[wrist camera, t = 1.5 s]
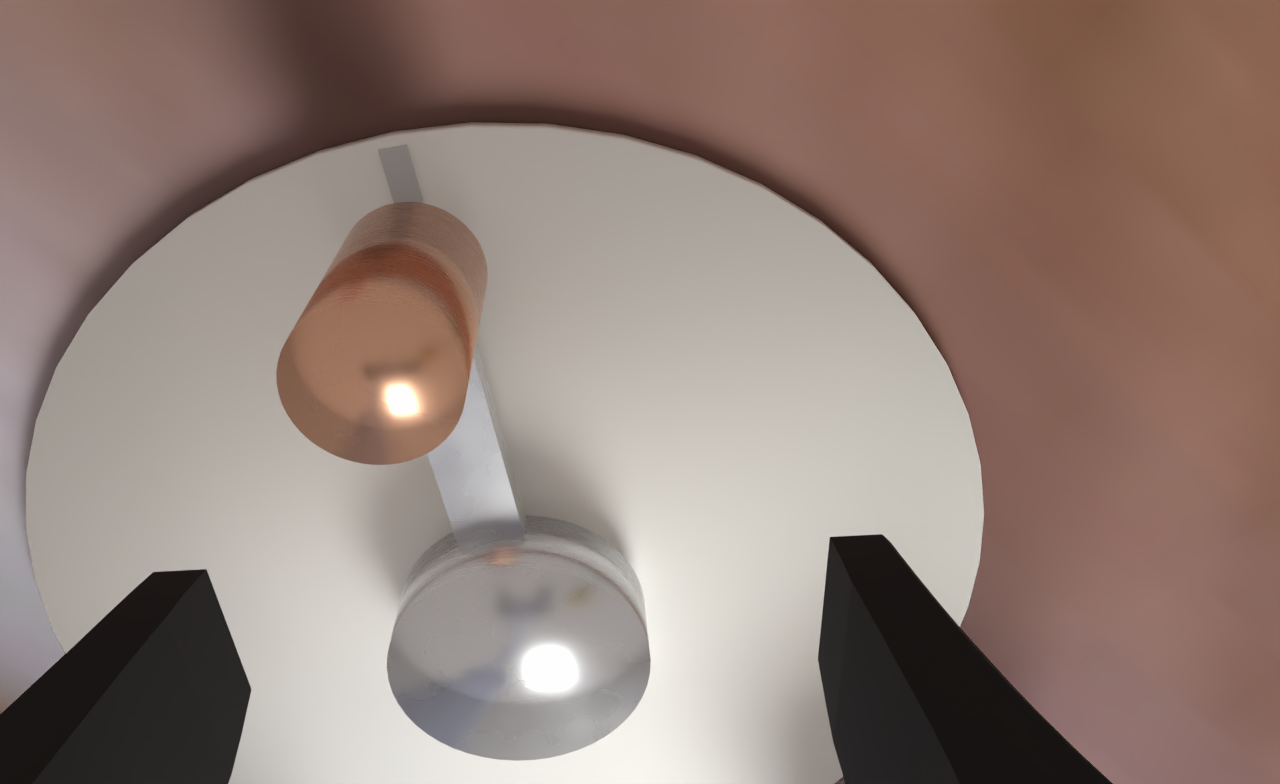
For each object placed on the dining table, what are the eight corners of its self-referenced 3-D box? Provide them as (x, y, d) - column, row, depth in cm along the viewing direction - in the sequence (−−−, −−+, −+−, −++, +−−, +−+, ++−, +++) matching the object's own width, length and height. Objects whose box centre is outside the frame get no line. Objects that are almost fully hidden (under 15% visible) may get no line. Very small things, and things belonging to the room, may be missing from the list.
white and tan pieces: (662, 680, 27) (682, 859, 22) (437, 718, 27) (408, 905, 22) (551, 166, 20) (546, 266, 15) (245, 223, 20) (141, 340, 15)
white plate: (247, 923, 33) (238, 952, 32) (-178, 237, 21) (-210, 254, 20) (974, 802, 32) (986, 828, 31) (981, 21, 20) (999, 29, 19)
